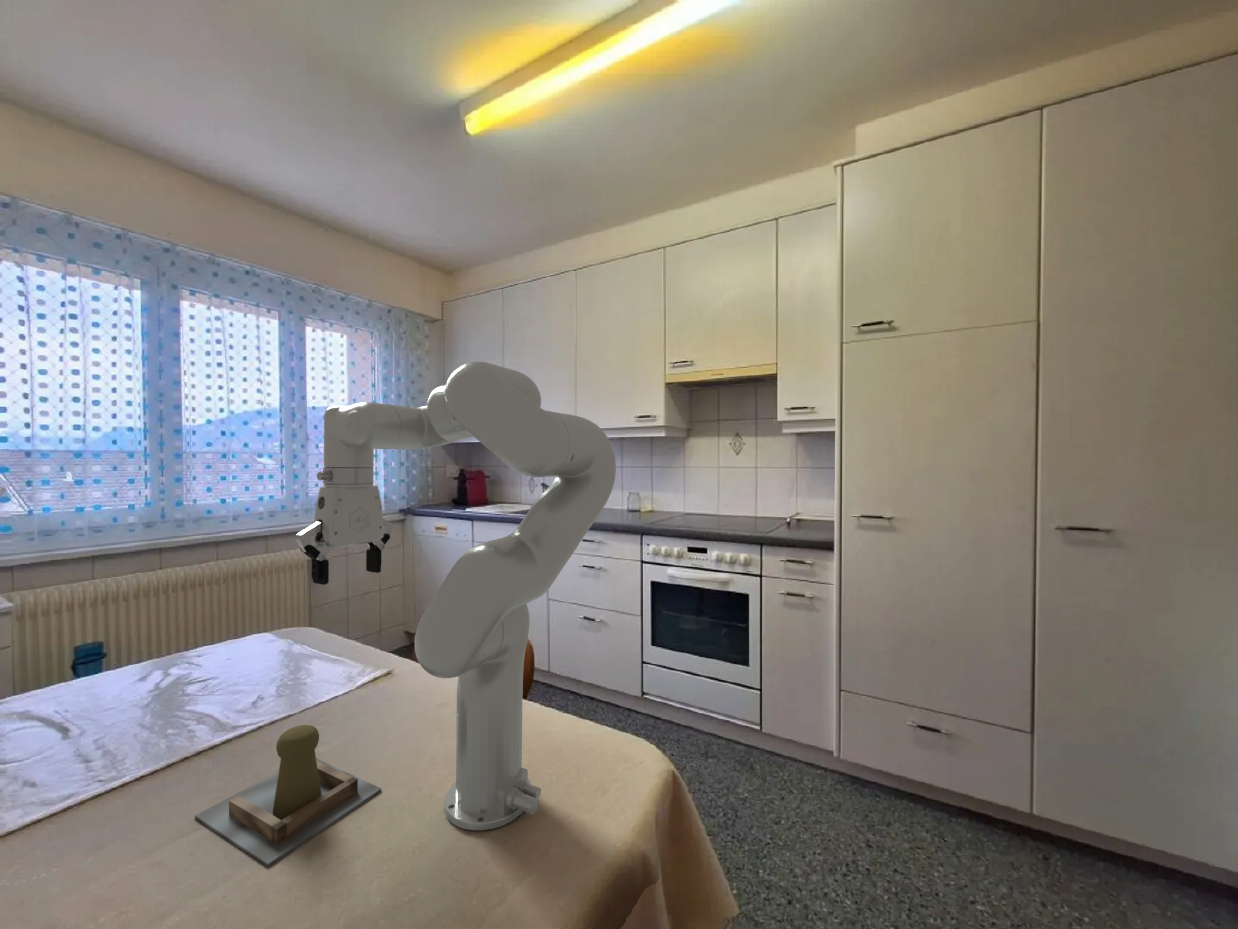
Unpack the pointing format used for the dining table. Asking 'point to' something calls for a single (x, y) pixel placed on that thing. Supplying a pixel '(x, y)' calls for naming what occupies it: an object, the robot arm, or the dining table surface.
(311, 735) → the cork
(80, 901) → the dining table surface
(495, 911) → the dining table surface
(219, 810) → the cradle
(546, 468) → the robot arm
